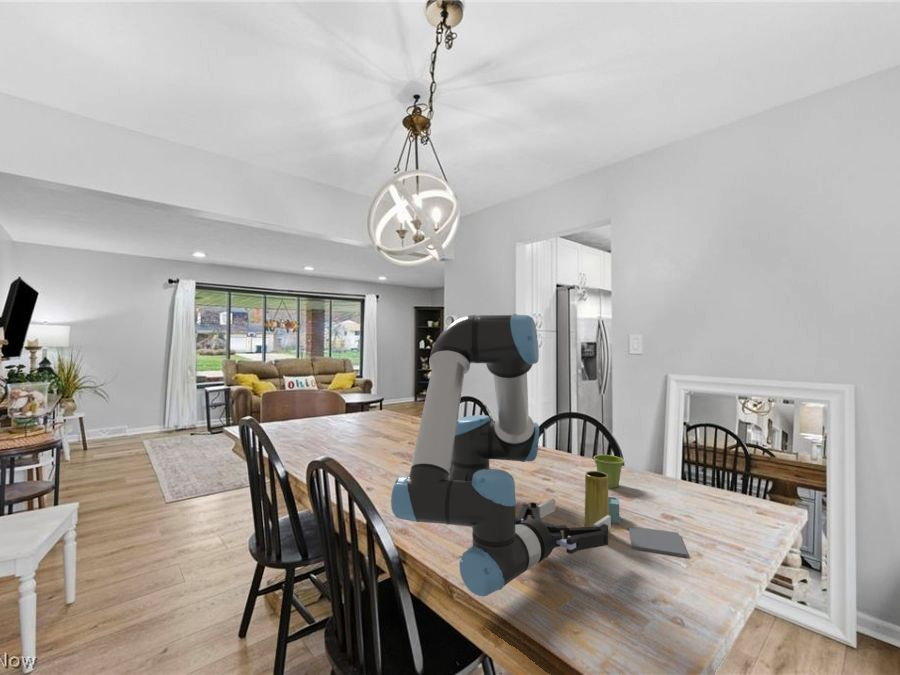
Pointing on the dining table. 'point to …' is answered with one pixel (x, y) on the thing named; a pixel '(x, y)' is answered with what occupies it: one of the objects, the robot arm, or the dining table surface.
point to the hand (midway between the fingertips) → (580, 512)
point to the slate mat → (657, 541)
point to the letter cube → (614, 509)
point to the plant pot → (610, 468)
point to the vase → (596, 497)
